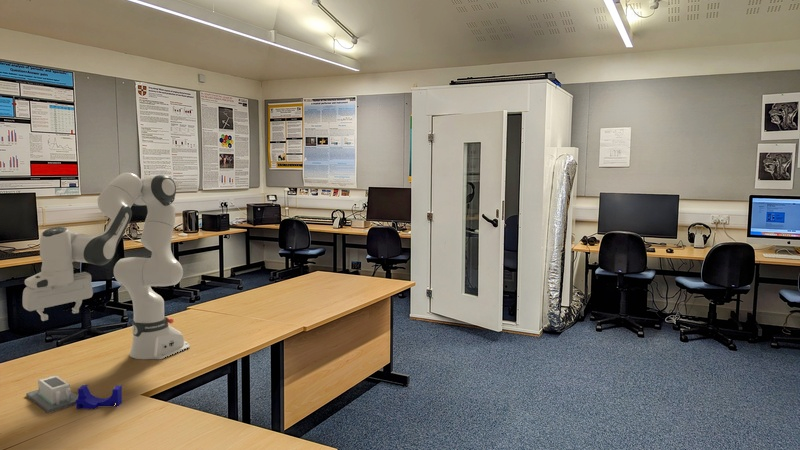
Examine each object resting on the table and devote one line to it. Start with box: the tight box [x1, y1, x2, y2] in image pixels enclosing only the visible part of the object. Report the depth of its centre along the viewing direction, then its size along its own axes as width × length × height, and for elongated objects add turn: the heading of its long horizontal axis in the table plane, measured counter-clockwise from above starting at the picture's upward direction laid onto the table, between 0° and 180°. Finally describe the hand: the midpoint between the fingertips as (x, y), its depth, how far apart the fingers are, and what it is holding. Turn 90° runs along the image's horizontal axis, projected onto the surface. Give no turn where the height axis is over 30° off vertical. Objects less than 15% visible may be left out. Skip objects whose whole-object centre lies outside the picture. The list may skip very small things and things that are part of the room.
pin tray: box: [25, 375, 78, 414], centre depth 170 cm, size 10×17×5 cm, turn 54°
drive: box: [38, 375, 71, 403], centre depth 170 cm, size 5×10×5 cm, turn 54°
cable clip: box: [75, 384, 123, 410], centre depth 168 cm, size 12×4×6 cm, turn 95°
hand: (60, 316), depth 176 cm, fingers open, 8 cm apart
